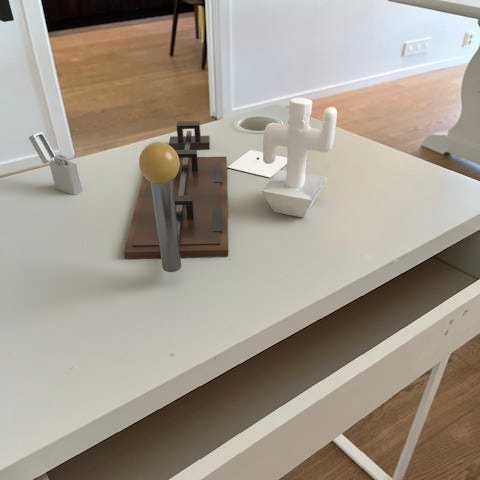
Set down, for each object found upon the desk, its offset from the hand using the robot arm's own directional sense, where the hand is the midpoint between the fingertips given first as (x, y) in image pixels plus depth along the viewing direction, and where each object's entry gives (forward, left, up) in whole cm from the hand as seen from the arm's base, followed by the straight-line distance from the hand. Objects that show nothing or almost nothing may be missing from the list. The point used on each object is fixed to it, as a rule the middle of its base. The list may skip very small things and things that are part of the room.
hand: (85, 6), depth 41 cm
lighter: (-26, -15, -28) cm, 41 cm away
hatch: (-20, +4, -28) cm, 35 cm away
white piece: (-33, +16, -28) cm, 46 cm away
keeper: (-41, +4, -28) cm, 50 cm away
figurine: (-18, +20, -28) cm, 39 cm away
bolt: (-20, +4, -27) cm, 34 cm away
